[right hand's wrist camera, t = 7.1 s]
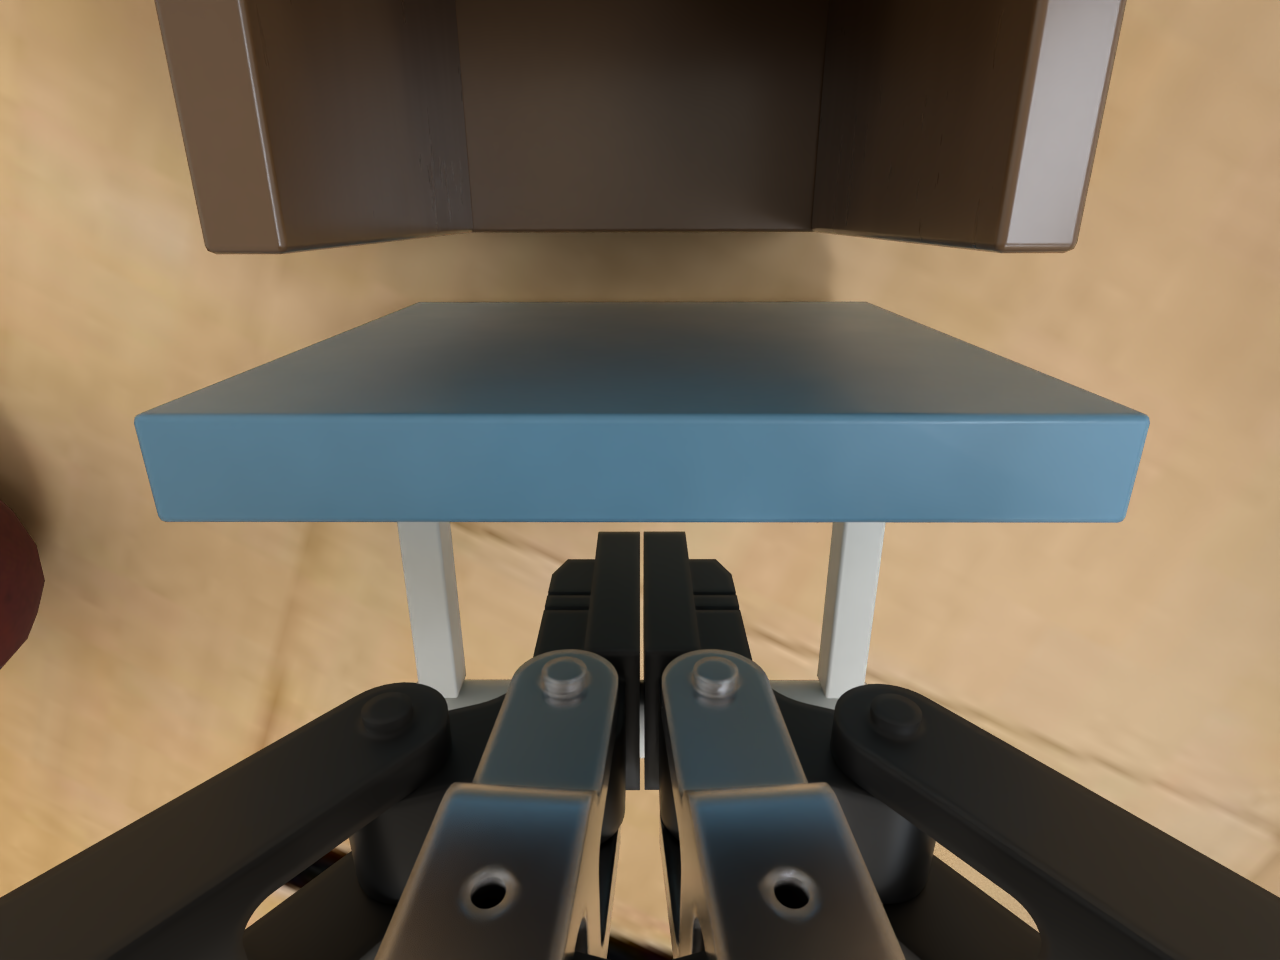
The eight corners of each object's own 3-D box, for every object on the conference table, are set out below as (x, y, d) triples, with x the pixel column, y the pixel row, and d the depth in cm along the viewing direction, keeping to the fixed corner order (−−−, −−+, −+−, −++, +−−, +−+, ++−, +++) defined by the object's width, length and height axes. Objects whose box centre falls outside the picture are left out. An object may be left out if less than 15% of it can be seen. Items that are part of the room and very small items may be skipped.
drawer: (840, 556, 18) (1031, 889, 9) (443, 555, 18) (252, 886, 9) (951, -457, 12) (1964, -2661, 3) (333, -453, 12) (-671, -2607, 3)
